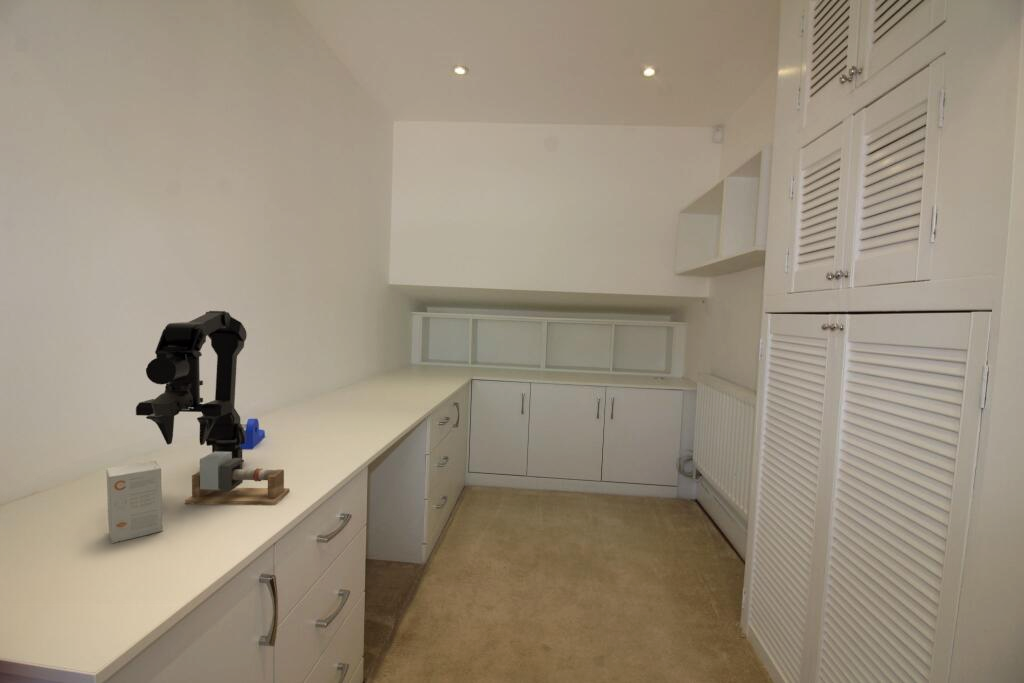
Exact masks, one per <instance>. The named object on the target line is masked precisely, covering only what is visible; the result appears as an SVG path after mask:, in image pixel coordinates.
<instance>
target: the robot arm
mask: <svg viewBox="0 0 1024 683" xmlns="http://www.w3.org/2000/svg"><path fill="white" fill-rule="evenodd" d="M247 336H248V333H247V330H246V328H245V327H244V324H243V323H242V322H241V321H239V320H238V319H236V318H234V317H232V316H231V315H230V313H229V312H227V311H225V310H209V311H206V312H205V314H203V315H200V316H199V317H197V318H194V319H192V320H189V321H186V322H184V321H183V322H172V323H171V322H170V323H168V324H166V326H165V328H164V329H163V330H162V332H161V335H160V336H159V337H160V338H159V340H158V343H157V345H156V348H155V352H154V353H155V355H156V358H154V359H152V360H151V361H150V362H148V364H147V366H146V368H145V374H146V376H147V378H148V379H149V381H150V382H151V383H153V384H157V385H161V386H163V385H165V390H164V392H163V393H161V394H159V395H158V396H156V397H155V398H151V399H148V400H145V401H144V400H143V401H140V402H138V403H137V405H136V407H135V416H143V417H144V416H146V417H145V418H146V419H147V420H150V421H152V422H154V423H155V424H156V425H157V427H158V429H159V430H160V431H159V432H161V435H162V437H163V439H164V441H165V443H166V445H171V444H172V443H173V438H174V427H175V426H174V425H175V416H177V415H179V414H180V412H181V413H182V412H183V413H184V412H185V413H187V412H190V413H201V414H202V415H200V416H198V417H197V418H196V420H197V421H198V423H199V445H200V446H203V445H205V443H206V446H207V447H209V446H211V451H212V452H211V453H213V452H232V459H233V458H242V463H244V459H243V449H242V447H241V444H244V443H246V432H245V430H246V429H244V427H243V425H242V424H241V416H240V414H239V413H238V411H237V410H236V408H235V399H236V398H235V397H236V384H237V383H236V382H237V380H236V379H237V361H238V356H239V355H240V353H241V352H242V350H243V349H244V348H245V341H246V339H247ZM207 337H208V338H209V339H210V344H211V345H210V346H211V348H212V349H213V351H214V353H215V354H216V356H217V357H216V358H217V359H216V362H217V363H216V373H215V375H216V376H215V377H216V378H215V395H214V400H211V401H209V402H205V403H203V402H204V397H201V395H200V393H201V392H200V390H201V388H200V386H203V385H204V381H203V380H201V378H200V376H201V375H200V357H202V356H203V354H202V352H201V350H202V347H203V345H204V344H205V343H206V341H207Z"/></svg>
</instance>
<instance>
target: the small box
mask: <svg viewBox="0 0 1024 683" xmlns="http://www.w3.org/2000/svg"><path fill="white" fill-rule="evenodd" d="M106 488H107V489H106V490H107V492H106V493H107V517H108V518H107V520H108V533H109V534H108V535H109V538H110V542H111V544H115V543H120V542H123V541H127V540H131V539H135V538H139V537H143V536H147V535H151V534H155V533H161V532H163V494H162V492H163V491H162V468H161V467H160V465H159V463H158V462H157V461H156V460H152V461H145V462H140V463H132V464H126V465H120V466H114V467H107V468H106ZM119 541H120V542H119Z"/></svg>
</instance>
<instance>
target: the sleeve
mask: <svg viewBox="0 0 1024 683" xmlns="http://www.w3.org/2000/svg"><path fill="white" fill-rule="evenodd" d="M231 459H232V452H213V453H212V452H211V453H209V454H207V455H206V456H204V457H201V458H199V471H200V489H213V490H218V489H220V466H221V465H223V464H224V463H226V462H228V461H230V460H231Z"/></svg>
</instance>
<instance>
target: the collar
mask: <svg viewBox="0 0 1024 683" xmlns="http://www.w3.org/2000/svg"><path fill="white" fill-rule="evenodd" d="M242 460H243V457H242V458H233V459H231V460H230V461H228V462H226V463H224V464H223V465H221V466H220V492H230V491H231V490H233V489H234V488H238V486H240V485H242V483H243V482H244V480H232V477H231V469H243V462H242Z"/></svg>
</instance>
